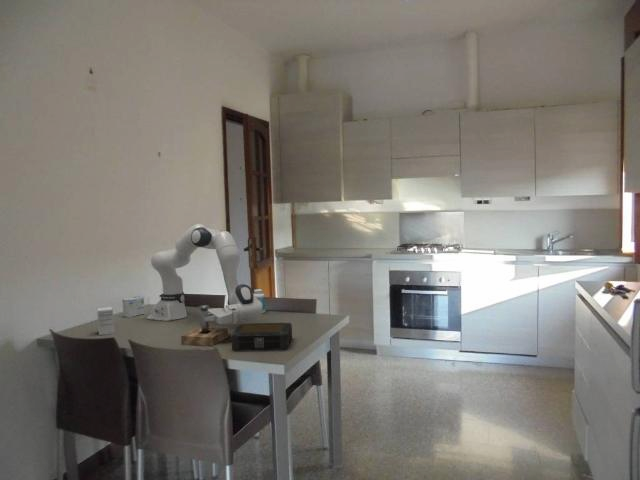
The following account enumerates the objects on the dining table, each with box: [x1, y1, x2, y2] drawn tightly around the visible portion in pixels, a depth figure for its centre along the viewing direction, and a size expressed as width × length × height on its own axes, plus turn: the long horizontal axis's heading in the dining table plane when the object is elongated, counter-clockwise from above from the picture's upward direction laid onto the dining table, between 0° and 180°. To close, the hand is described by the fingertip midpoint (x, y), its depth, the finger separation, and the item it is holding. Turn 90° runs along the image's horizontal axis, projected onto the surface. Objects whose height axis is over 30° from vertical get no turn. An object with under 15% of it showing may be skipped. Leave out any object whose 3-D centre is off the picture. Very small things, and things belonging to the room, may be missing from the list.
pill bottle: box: [253, 288, 266, 314], centre depth 287 cm, size 8×7×14 cm
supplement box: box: [96, 306, 115, 336], centre depth 252 cm, size 7×7×13 cm
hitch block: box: [180, 326, 229, 347], centre depth 232 cm, size 16×16×4 cm
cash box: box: [230, 322, 293, 352], centre depth 223 cm, size 25×20×8 cm
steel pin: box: [198, 304, 210, 334], centre depth 232 cm, size 4×4×14 cm
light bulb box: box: [121, 295, 146, 318], centre depth 289 cm, size 11×7×11 cm, turn 144°
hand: (202, 318), depth 231 cm, fingers closed on steel pin, 3 cm apart
